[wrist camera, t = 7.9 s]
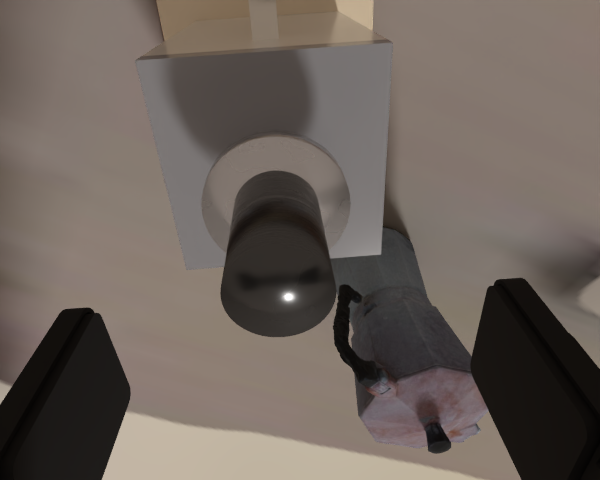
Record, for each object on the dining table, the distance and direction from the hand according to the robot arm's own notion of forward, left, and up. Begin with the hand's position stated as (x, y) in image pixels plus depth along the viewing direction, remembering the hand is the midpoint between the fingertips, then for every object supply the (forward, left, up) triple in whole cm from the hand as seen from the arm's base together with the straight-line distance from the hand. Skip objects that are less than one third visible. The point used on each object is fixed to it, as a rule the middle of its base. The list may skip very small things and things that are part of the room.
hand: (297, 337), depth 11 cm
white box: (0, 0, -28) cm, 28 cm away
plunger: (0, 0, -25) cm, 25 cm away
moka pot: (-8, +18, -28) cm, 34 cm away
